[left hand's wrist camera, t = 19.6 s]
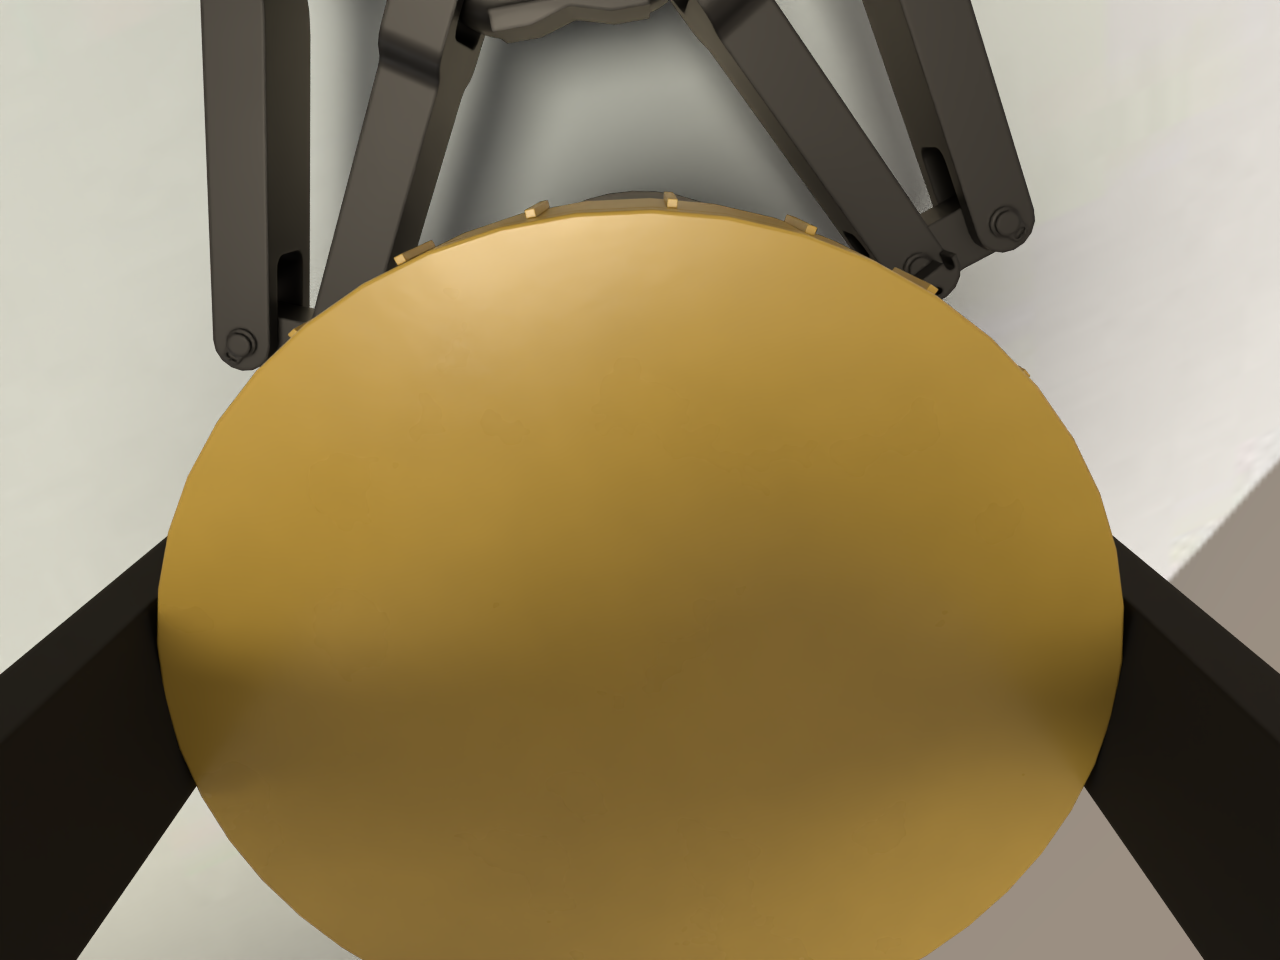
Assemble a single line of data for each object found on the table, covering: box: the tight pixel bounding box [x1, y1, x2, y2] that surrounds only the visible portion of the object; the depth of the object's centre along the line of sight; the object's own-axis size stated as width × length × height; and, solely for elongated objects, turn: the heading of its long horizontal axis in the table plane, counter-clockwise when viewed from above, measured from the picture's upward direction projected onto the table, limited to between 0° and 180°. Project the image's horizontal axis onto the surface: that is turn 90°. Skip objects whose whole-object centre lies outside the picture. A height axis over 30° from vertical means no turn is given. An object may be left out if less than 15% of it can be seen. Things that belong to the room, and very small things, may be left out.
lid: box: [157, 192, 1124, 960], centre depth 11 cm, size 12×12×2 cm
